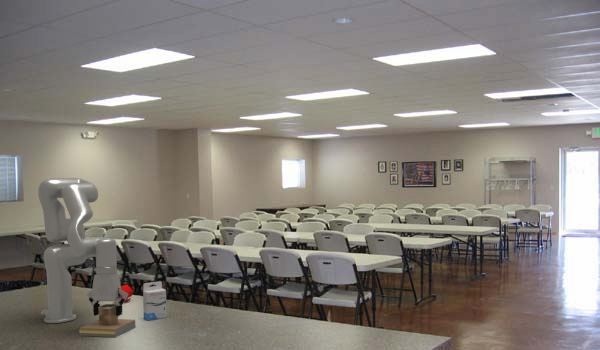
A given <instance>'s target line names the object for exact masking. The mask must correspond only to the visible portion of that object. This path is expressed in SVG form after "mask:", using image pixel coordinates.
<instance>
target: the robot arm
mask: <svg viewBox="0 0 600 350" xmlns="http://www.w3.org/2000/svg"><path fill="white" fill-rule="evenodd" d="M38 185H39V186H38V191H37V195H38V199H39V202H40V205H41V208H42V214H43V223H44V232H45V237H46V239H47V241H49V242H52V243H58V242H60V243H61V242H67V243H63V244H55V245H52V246H49V247H47V248H46V249H45V250H44V252H43V260H44V261H43V262H44V266H45V270H46V284H47V285H46V287H47V288H46V289H47V290H46V292H47V309H46V308H45V309H42V310H41V312H40V315H41V316H43V315H45V317H44V318H43V321H44V322H45V323H47V324H58V323H59V324H60V323H67V322H71V321H73V320H74V321H75V320H76V319H77V314H76V313H73V289H72V288H73V287H72V275H71V273H70V272H69V270H68V269H67V267H72V266H79V265H83V264H84V263H85V262H86V260H87V258H93V257H94V258H95V266H96V267H94V268H93V271H94V272H95V273H96V274H94V276H93V282H92V290H89V292H87V293H86V296H87V298H88V301H89V302H90V303H91V306H92V308H93V309H92V311H93V316H95V317H97V316H99V308H98V307H100V306H101V304H100V302H114V304H117V306H116V316H118V317H120V316H122V315H123V305H124V304H125V303H126V302H127V301H126V299H127V296H128V293H126V292H124V291H123V290H121V287H122V286H121V285H122V284H121V280H120V275H119V273H118V266H117V259H118V258H117V241H116V239H115V238H107V237H105V236H97V237H94V236H93V237H87V238H86V229H85V226H84V224H86V223H87V222H89V221H90V220H91V219H92V218H93V216H94V213H93V210H92V207H91V205H90V204H91V203H95V202H96V201H97V200H98V197H99V191H98V187H96V185H95V184H94V183H92V182H90V181H88V180H85V179H82V178H78V177H54V178H53V177H52V178H47V179H43V180H42V181H41V182H40V183H39V184H38ZM59 199H63V202H64V204H65V206H64V205H63V203H62V202H61V201H60V200H59ZM66 209H67V212H68V214H69V215H68V216H69V217H70V218H67V216H66ZM121 295H122V296H123V297H122V299H121ZM125 301H126V302H125Z"/></svg>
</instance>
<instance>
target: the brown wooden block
mask: <svg viewBox="0 0 600 350" xmlns="http://www.w3.org/2000/svg"><path fill="white" fill-rule="evenodd" d="M116 306H117V304H116V303H105V304H102V305H100V307H98V308H99V314H98V320H99V325H107V326H111V325H113V324H115V323H118V319H119V316H116Z"/></svg>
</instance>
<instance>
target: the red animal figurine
mask: <svg viewBox="0 0 600 350" xmlns="http://www.w3.org/2000/svg"><path fill="white" fill-rule="evenodd" d="M121 290H123V291H124V292H126V293H128V296H127V299H126V301H125V302H124V303H126V302H128V301H130V300H131V297H133V293H134V290H133V289H132V287H131V286H129V285H128V284H124V285H122V286H121ZM122 297H123V296H122V295H121V299H122Z"/></svg>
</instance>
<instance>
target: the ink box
mask: <svg viewBox="0 0 600 350" xmlns="http://www.w3.org/2000/svg"><path fill="white" fill-rule="evenodd" d="M152 285H153V286H152ZM142 286H143V291H142V293H143V294H142V295H143V297H142V299H143V300H142V302H143V303H142V304H143V319H144V320H146V321H152V320H158V319H164V318H165V319H166V318H167V290H166V289H165V288H163V282H162V281H153V282H145V283H143V285H142Z"/></svg>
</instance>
